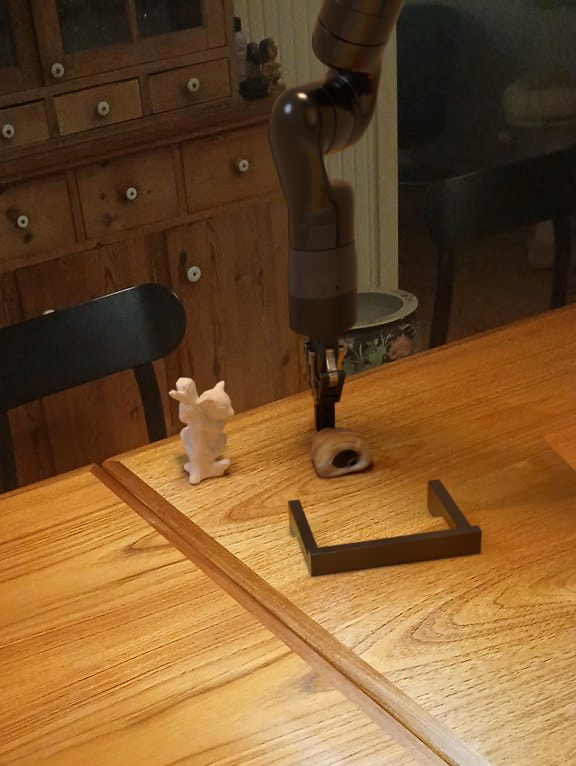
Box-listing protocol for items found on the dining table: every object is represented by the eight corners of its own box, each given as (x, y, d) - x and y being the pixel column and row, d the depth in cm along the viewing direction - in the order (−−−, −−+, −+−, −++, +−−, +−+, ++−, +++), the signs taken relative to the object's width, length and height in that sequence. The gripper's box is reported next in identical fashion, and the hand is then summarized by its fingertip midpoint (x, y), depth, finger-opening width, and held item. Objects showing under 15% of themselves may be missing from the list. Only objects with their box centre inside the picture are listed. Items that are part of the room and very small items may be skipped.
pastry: (301, 448, 118) (300, 418, 116) (357, 439, 118) (357, 409, 116) (318, 481, 110) (317, 449, 108) (378, 471, 110) (379, 440, 108)
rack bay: (438, 504, 102) (439, 469, 100) (479, 568, 91) (482, 530, 89) (289, 526, 103) (287, 491, 101) (312, 591, 92) (310, 555, 90)
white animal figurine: (197, 493, 113) (185, 393, 106) (160, 477, 118) (147, 381, 111) (251, 466, 116) (243, 368, 110) (214, 452, 121) (204, 357, 115)
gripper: (370, 297, 103) (368, 448, 113) (344, 262, 114) (345, 404, 123) (297, 307, 103) (302, 457, 113) (279, 272, 114) (285, 412, 124)
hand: (324, 429), depth 118 cm, fingers closed
